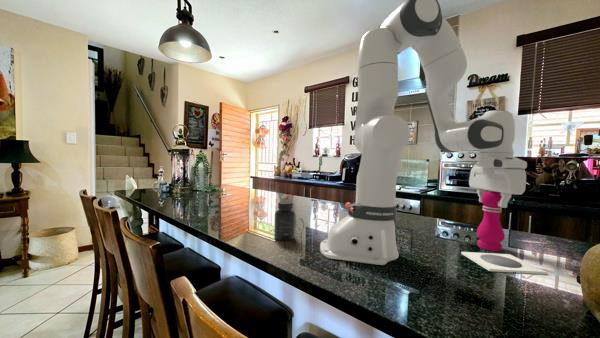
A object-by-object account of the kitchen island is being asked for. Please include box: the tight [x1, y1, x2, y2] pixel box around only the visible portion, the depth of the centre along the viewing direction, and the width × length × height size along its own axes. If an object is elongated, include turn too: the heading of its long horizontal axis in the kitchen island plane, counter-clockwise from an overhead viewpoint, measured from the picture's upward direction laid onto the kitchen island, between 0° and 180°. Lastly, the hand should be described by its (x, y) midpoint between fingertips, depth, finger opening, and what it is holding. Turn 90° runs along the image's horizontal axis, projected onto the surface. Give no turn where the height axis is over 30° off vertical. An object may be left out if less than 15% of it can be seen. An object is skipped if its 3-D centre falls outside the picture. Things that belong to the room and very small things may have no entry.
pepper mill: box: [476, 191, 506, 252], centre depth 81 cm, size 7×7×20 cm
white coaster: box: [460, 251, 548, 275], centre depth 69 cm, size 14×12×1 cm
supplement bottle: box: [273, 201, 296, 242], centre depth 84 cm, size 7×7×12 cm
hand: (492, 204), depth 81 cm, fingers open, 7 cm apart
